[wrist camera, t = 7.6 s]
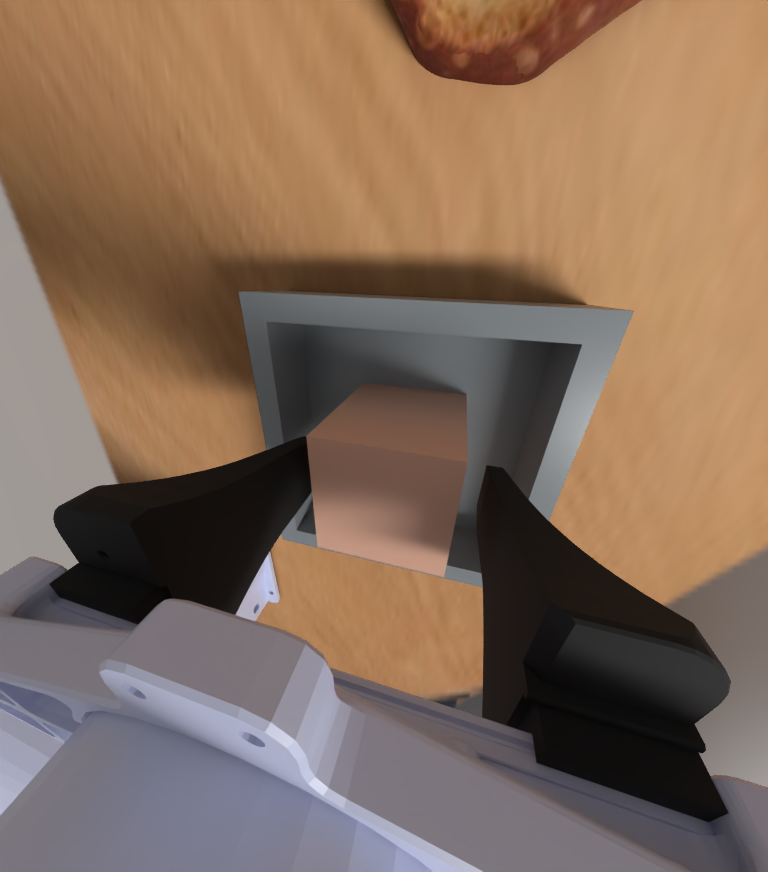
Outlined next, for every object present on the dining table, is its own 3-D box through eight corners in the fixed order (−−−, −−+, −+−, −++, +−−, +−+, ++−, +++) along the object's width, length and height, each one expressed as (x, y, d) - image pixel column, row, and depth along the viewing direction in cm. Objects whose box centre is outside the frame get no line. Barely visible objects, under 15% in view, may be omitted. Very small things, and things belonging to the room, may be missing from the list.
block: (451, 481, 16) (444, 577, 10) (363, 466, 17) (317, 546, 11) (466, 394, 13) (467, 461, 8) (363, 382, 14) (306, 436, 9)
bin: (508, 542, 17) (518, 596, 14) (310, 501, 20) (282, 539, 17) (588, 305, 11) (633, 310, 8) (288, 290, 14) (238, 291, 11)
